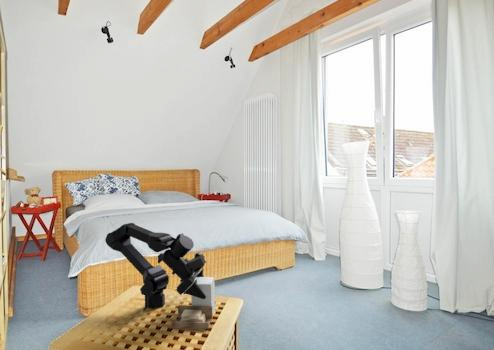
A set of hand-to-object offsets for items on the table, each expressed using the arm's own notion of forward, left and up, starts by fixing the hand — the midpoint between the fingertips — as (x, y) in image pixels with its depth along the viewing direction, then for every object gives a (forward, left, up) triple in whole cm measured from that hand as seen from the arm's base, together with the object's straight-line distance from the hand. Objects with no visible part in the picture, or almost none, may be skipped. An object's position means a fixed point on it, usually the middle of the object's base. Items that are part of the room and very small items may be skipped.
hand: (207, 293), depth 120 cm
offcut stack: (-3, -9, -7) cm, 11 cm away
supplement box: (-1, 0, -8) cm, 8 cm away
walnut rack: (-3, -8, -8) cm, 12 cm away
